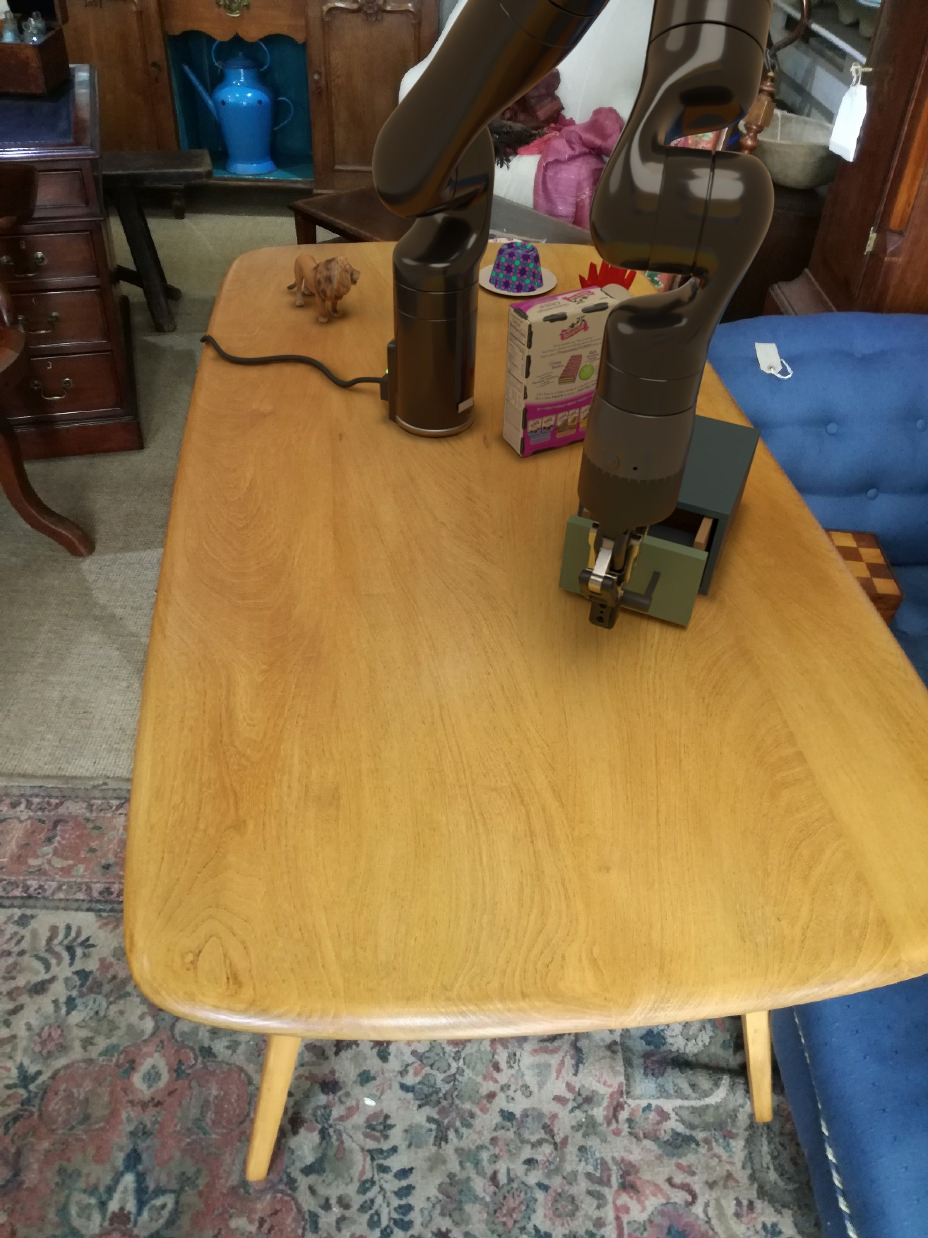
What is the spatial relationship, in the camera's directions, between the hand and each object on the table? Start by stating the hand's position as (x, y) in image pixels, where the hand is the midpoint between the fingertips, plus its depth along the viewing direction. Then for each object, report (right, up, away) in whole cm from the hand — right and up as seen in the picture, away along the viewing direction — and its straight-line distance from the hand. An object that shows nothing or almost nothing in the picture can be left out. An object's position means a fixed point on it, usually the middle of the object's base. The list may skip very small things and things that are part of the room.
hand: (603, 621), depth 79 cm
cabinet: (+8, +9, +17) cm, 21 cm away
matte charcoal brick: (+5, +5, +9) cm, 12 cm away
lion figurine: (-32, +43, +52) cm, 75 cm away
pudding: (-4, +50, +60) cm, 79 cm away
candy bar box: (-2, +21, +29) cm, 36 cm away
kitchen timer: (+5, +32, +41) cm, 52 cm away
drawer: (+5, +4, +10) cm, 12 cm away
